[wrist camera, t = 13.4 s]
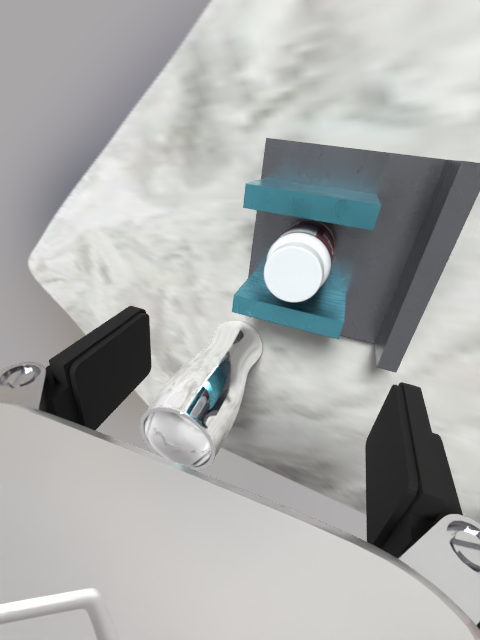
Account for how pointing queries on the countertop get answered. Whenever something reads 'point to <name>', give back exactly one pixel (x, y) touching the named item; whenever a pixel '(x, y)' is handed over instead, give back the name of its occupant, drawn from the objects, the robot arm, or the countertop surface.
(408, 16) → the countertop surface
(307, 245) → the pill bottle
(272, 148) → the holder
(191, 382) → the beer glass
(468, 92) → the countertop surface
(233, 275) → the countertop surface
